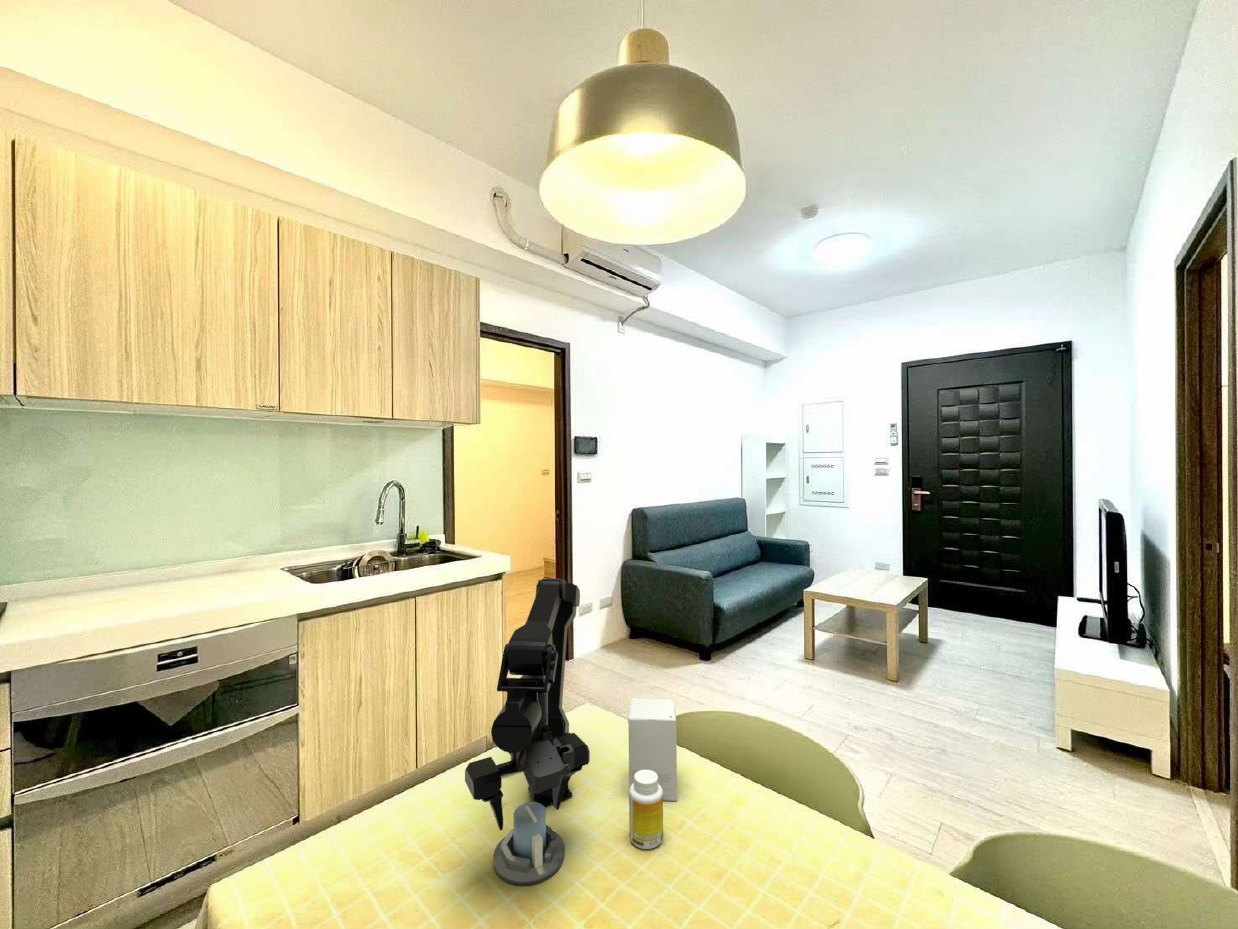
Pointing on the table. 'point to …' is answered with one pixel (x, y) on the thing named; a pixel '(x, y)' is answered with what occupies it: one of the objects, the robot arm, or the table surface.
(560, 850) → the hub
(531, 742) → the robot arm
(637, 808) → the supplement bottle
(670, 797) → the supplement box
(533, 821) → the knob
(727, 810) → the table surface
